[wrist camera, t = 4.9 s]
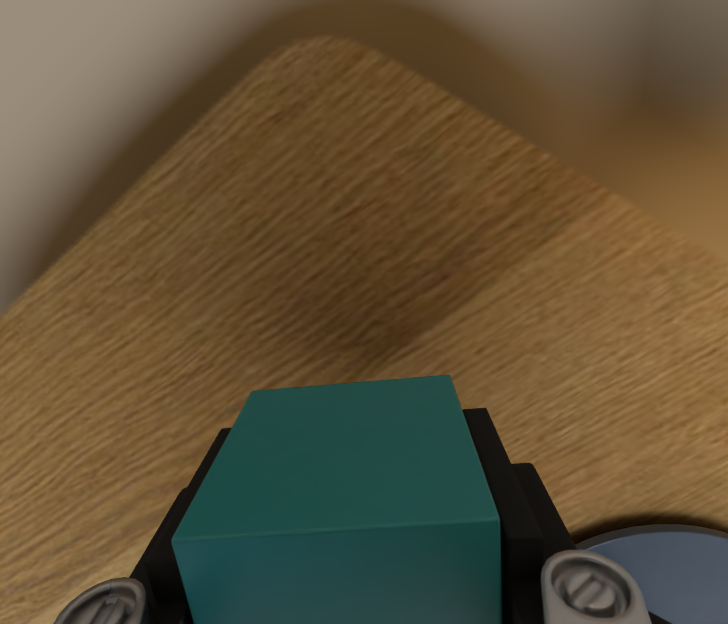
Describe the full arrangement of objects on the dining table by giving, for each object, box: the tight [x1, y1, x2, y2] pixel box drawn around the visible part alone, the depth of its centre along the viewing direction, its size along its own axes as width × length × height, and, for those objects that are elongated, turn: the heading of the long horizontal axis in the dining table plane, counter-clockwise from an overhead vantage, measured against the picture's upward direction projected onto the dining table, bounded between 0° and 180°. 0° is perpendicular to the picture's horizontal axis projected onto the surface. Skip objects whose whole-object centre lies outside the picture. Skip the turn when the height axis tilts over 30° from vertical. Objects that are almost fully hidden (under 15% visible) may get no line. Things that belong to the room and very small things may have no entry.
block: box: [172, 375, 502, 624], centre depth 9 cm, size 4×4×4 cm
